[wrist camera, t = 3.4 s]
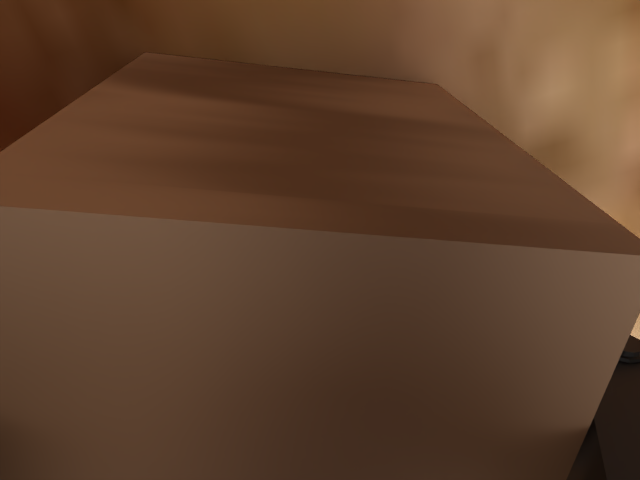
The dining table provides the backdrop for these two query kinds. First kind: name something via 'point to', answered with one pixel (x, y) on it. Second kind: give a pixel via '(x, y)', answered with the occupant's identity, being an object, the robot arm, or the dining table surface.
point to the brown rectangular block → (297, 285)
